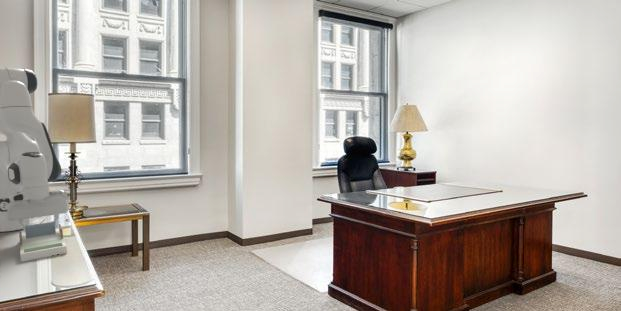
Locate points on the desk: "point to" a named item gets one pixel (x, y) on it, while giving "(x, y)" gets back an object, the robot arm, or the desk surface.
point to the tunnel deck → (42, 245)
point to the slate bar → (40, 230)
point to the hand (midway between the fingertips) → (40, 227)
